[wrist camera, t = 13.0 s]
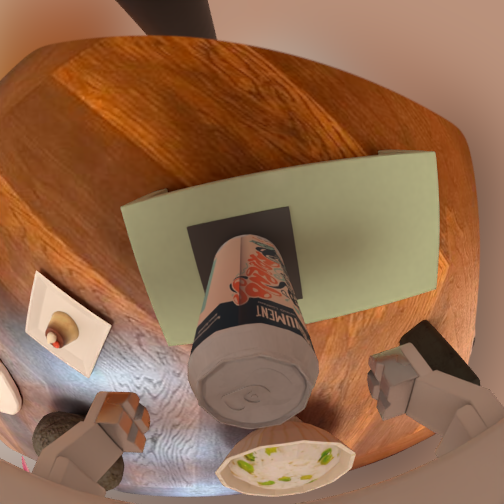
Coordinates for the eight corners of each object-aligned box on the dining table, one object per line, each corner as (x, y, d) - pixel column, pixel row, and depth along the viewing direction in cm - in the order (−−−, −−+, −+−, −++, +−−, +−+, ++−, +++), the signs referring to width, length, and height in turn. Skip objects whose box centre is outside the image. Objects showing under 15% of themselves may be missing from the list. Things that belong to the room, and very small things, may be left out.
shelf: (152, 192, 26) (118, 207, 18) (390, 149, 25) (437, 151, 18) (184, 301, 30) (167, 348, 22) (397, 258, 29) (437, 290, 21)
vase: (146, 452, 41) (119, 584, 12) (82, 446, 42) (45, 551, 13) (96, 394, 35) (32, 552, 7) (34, 393, 36) (-28, 505, 8)
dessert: (91, 373, 34) (79, 395, 29) (28, 327, 31) (12, 345, 27) (114, 320, 31) (99, 343, 26) (41, 266, 28) (19, 282, 24)
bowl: (221, 384, 34) (216, 446, 25) (358, 386, 35) (381, 438, 26) (216, 454, 40) (213, 500, 31) (322, 454, 42) (331, 497, 32)
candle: (435, 338, 33) (528, 462, 10) (408, 359, 34) (489, 494, 11) (426, 317, 32) (536, 451, 8) (397, 340, 33) (491, 490, 9)
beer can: (294, 276, 20) (343, 405, 9) (237, 306, 21) (233, 446, 10) (260, 219, 19) (285, 316, 8) (200, 254, 20) (154, 377, 8)
